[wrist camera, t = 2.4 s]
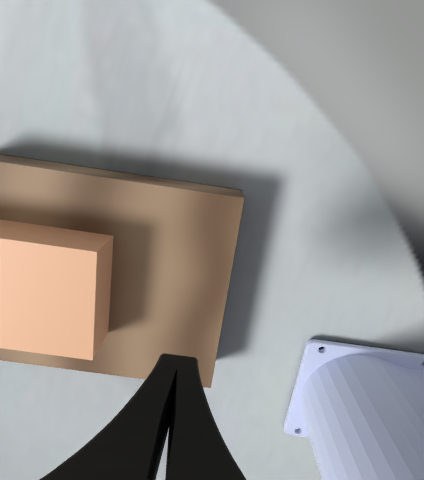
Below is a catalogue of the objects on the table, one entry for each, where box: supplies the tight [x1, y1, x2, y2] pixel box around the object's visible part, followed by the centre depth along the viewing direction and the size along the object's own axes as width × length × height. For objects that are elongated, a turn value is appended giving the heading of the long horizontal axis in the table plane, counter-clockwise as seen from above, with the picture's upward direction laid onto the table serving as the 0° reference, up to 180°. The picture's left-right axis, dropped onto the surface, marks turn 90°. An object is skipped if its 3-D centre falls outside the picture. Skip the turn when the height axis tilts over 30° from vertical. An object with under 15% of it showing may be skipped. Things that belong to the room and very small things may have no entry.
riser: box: [0, 154, 244, 388], centre depth 20 cm, size 14×12×2 cm
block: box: [0, 220, 113, 360], centre depth 17 cm, size 8×6×2 cm
